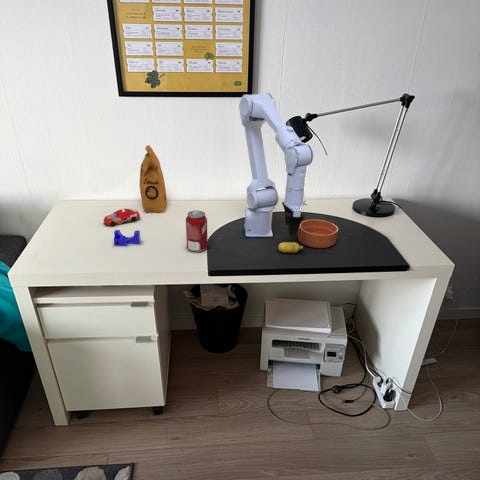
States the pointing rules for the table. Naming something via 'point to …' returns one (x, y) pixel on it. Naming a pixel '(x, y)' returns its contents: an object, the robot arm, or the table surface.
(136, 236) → the cable holder
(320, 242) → the basin
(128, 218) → the race car
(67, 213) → the table surface
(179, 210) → the table surface
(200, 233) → the soda can
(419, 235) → the table surface
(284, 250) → the yellow squeeze bottle
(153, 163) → the coffee package
